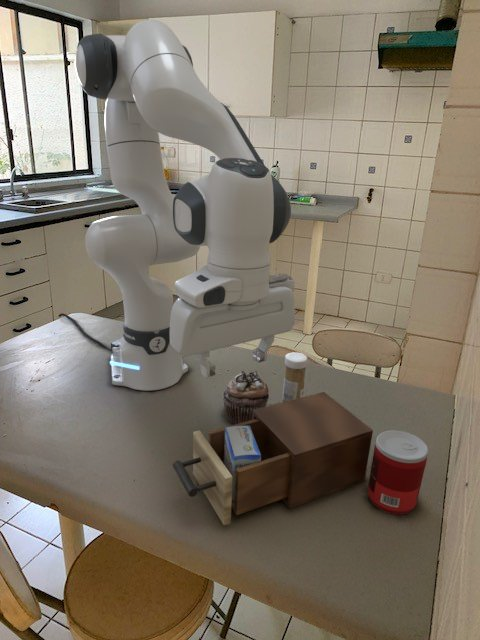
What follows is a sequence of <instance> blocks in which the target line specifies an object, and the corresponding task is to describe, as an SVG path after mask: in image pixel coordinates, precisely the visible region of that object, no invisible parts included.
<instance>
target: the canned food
mask: <svg viewBox="0 0 480 640" xmlns="http://www.w3.org/2000/svg"><path fill="white" fill-rule="evenodd" d="M372 454H373V455H372V461H371V465H370V466H371V467H370V472H369V477H368V483H367V494H368V499H369V500H370V502H371V503H372V505H374V506H375V507H376V508H378V509H379V510H381V511H382V512H385V513H389V514H393V515H404V514H409V513H410V512H411V511H413V509H414V508H415V507H416V506H417V503H418V499H419V495H420V490H421V486H422V483H423V477H424V474H425V469H426V465H427V461H428V455H429V447H428V446H427V443H426V442H425V441H424V440H422V438H421V437H419V436H417V435H415V434H413V433H410V432H407V431H403V430H395V429H394V430H393V429H392V430H385V431H382V432H381V433H379V434H378V435H377V437H376V440H375V444H374V449H373V453H372Z"/></svg>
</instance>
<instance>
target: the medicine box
mask: <svg viewBox="0 0 480 640" xmlns="http://www.w3.org/2000/svg"><path fill="white" fill-rule="evenodd" d="M225 427H226V428H225V443H224V463H223V464H224V465H225V467H226V468H227V469H228V471H229V472H230V474H231V475H232V500H233V501H234V500H235V489H236V469H238V468H241V467H244V466H247V465H250V464H254V463H257V462H260V461H261V454H260V452H259V449H258V446H257V444H256V441H255V438H254V435H253V433H252V430H251V427H250V426H234V427H228V426H225Z"/></svg>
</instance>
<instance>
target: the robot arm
mask: <svg viewBox="0 0 480 640" xmlns="http://www.w3.org/2000/svg"><path fill="white" fill-rule="evenodd" d="M74 56H75V57H74V68H75V74H76V76H77V79H78V81H79V84H80V86H81V89H82V90H83V91H84V92H85V93H86V94H87V95H88V96H90V97H93V98H96V99H100V100H103V101H104V100H106V101H105V108H104V133H105V145H106V152H107V159H108V166H109V173H110V179H111V184H112V185H113V187H114V188H115V190H116V191H117V192H118V193H119V194H121V195H122V196H124V197H126V198H129V199H131V200H132V201H134V202H135V203H136V205H137V206H138V207H139V209H140V212H141V214H129V215H113V216H109V217H105V218H102V219H99V220H96V221H93V222H91V224H90V225H89V227H88V228H87V230H86V233H85V239H84V247H85V251H86V253H87V256H88V257H89V259H90V260H91V261H92V262H93V263H94V264H95V265H96V266H97V267H98V268H100V269H102V270H103V271H105V272H106V273H108V275H110V276H111V277H112V278H113V280H114V281H115V283H116V284H117V286H118V288H119V290H120V294H121V297H122V303H123V304H122V305H123V313H124V322H123V325H122V336H121V337H120V338H119V339H117V340H115V341H112V342H110V348H109V347H107V346H106V345H105V344H104V343H102V342H101V341H100V340H98V339H96V338H94V337H92V336H90V335H89V334H88V333H87V332H86V331H85V330H84V329H83V327H82V326H81V325H80V324H79V322H77V320H76V319H74V318H72V317H71V316H70V315H68V314H66V313H59V314H58V317H59V318H61V317H65V318H67V319H68V320H70V321H72V322H73V323H74V324H75V326H76V327H77V328H78V329H79V331H80V333H82V334H83V335H84V336H85V337H86V338H87V339H89V340H90V341H92V342H94V343H96V344H98V345H99V346H100V347H101V348H103V349H106V350H107V351H109V352H112V353H111V355H110V361H109V365H110V371H111V373H110V374H111V384H112V385H114V386H120V387H127V388H129V389H132V390H136V391H147V392H148V391H158V390H164V389H167V388H169V387H172V386H173V385H175V384H177V383H178V382H179V381H180V380H181V378H182V376H183V375H184V374H185V373H187V372H188V371H189V365H188V364H186V363H185V362H183V361H184V360H183V357H184V358H188V357H192V356H194V357H195V358H196V360H197V361H198V362H199V364H200V374H201V375H202V376H203V377H204V378H206V379H207V378H210V377H213V376H215V375H216V364H214V363H212V361H210V360H208V359H207V358H210V352H212V351H216V350H220V349H223V348H228V347H232V346H236V345H241V344H244V343H249V342H252V341H256V340H260V341H259V343H258V346H257V347H256V348H253V349H252V359H253V361H254V362H256V363H257V364H259V363H263V362H266V361H267V359H268V352H269V350H270V348H271V347H272V345H273V344H274V341H275V336H277V335H281V334H285V333H289V332H291V330H292V329H293V327H294V326H295V323H296V303H295V302H296V301H295V294H294V292H295V281H294V279H293V278H292V276H290V275H288V273H279V274H270V273H271V263H272V262H271V260H272V259H271V255H270V244H273V243H274V242H276V241H277V240H278V239H279V238H280V237H281V236H282V235H283V233H284V232H285V230H286V228H287V227H288V225H289V223H290V220H291V215H292V205H291V201H290V198H289V195H288V193H287V191H286V190H285V188H284V187H283V185H282V184H281V183H280V181H278V179H277V178H276V177H275V176H274V175H273V174H272V173H271V171H270V170H271V169H269V168H268V167H267V166H266V165H265V163H264V162H263V160H262V158H261V157H260V156H259V153H258V152H257V150H256V149H255V147H254V145H253V144H252V142H251V141H250V139H249V137H248V136H247V134H246V132H245V130H244V129H243V128H242V126H241V124H240V123H239V121H238V120H237V117H235V115H234V114H233V112H232V111H231V110H230V108H228V107H227V106H226V105H225V104H224V103H223V102H221V101H220V100H219V99H218V98H217V97H216V96H214V94H212V92H211V91H210V90H209V89H208V88H207V87H206V86H205V84H204V83H203V82H202V81H201V79H200V78H199V76H198V75H197V72H196V70H195V68H194V64H193V59H192V55H191V54H190V51H189V49H188V47H186V46H185V45H184V44H182V42H181V41H180V39H179V38H178V36H177V34H175V33H174V31H173V30H172V28H170V26H169V25H168V24H166V23H164V22H162V21H160V20H157V19H143V20H141V21H138V22H137V23H135V24H134V25H133V26H132V27H131V28H130V29H129V30H128V31H127V33H126V34H125V35H124V34H123V35H122V34H121V35H120V34H109V35H107V34H106V35H104V34H103V33H93V34H92V33H91V34H87V35H85V36H83V37H82V38H81V39H80V40H79V41H78V43H77V46H76V52H75V55H74ZM160 134H161V135H163V136H166V137H168V138H171V139H176V140H179V141H184V142H187V143H190V144H194V145H197V146H199V147H202V148H204V149H206V150H208V151H210V152H212V153H213V154H214V155H215V156H216V157H217V158H218V159H219V160H216V161H215V162H214V163H213V164H212V166H211V169H210V172H208V173H207V174H206V175H204V176H202V177H200V178H198V179H195V180H191V181H186V182H185V183H184V184H183V185H182V186H181V187H180V188H179V189H178V191H177V193H176V194H175V196H173V194H172V192H171V190H170V188H169V184H168V181H167V178H166V173H165V169H164V162H163V156H162V148H161V140H160ZM201 247H207V248H208V256H207V259H206V265H204V266H202V267H201V268H199V269H197V270H195V271H194V272H192V273H190V274H187V275H186V276H184V277H182V278H179V279H177V280H176V281H175V282H174V284H173V285H174V286H173V288H174V294H175V295H177V297H179V298H177V299H176V300H175V301H174V294H173V291H172V289H171V288H170V286H169V285H168V284H166V283H165V282H164V281H161V280H160V279H157V278H154V277H152V276H150V270H149V269H150V268H149V267H151V266H155V265H162V264H164V265H165V264H170V263H171V264H173V263H178V262H182V261H184V260H187V259H189V258H193V257H195V256H196V255H197V254H198V252H199V251H200V249H201Z"/></svg>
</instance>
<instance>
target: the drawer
mask: <svg viewBox="0 0 480 640" xmlns="http://www.w3.org/2000/svg"><path fill="white" fill-rule="evenodd" d="M234 426H250V427H251V430H252V433H253V435H254V438H255V441H256V444H257V446H258V449H259V452H260V454H261V461H260V462H257V463H254V464H250V465H247V466H244V467H241V468H238V469H236V489H235V500H234V501H233V500H232V475H231V474H230V472H229V471H228V469H227V468H226V467H225V465H224V464H223V463H224V443H225V428H226V427H234ZM192 445H193V446H192V459H189V460H186V461H181V460H180V459H179V460H175V461H174V462H173V463H172V468H173V470H174V472H175V473H176V475H177V477H178V478H179V481H180V482H181V484H182V486H183V488H184V490H185V492H186V493H187V495H188V496H189V497H190V498H194V497H196V496H197V495H198V493H199V492H201V491H202V492H203V494H204V495H205V497H206V498H207V499H208V502H209V503H210V505H211V506H212V508H213V510H214V512H215V513H216V515H217V517H218V518H219V520H220V522H221V523H222V525H223V526H226V525H230V524H231V522H232V510H233V512H234V514H235V515H236V516H240V515H242V514H245V513H247V512H250V511H252V510H256V509H258V508H261V507H263V506H266V505H267V506H268V505H269V504H272V503H275V502H278V501H281V500H282V499H283V498H286V497H288V490H289V480H290V469H291V459H292V456H291V455H290V454H289V453H288V451H287V450H286V449H285V448H284V447H283V446H282V445H281V444H280V443H279V442H278V441H277V440H276V439H275V438H274V436H273V435H272V434H271V433H270V432H269V431H268V430H267V429H266V428H265V427H264V426H263V425H262V424H261V423H260V421H259V420H258V419H254V420H250V421H247V422H243V423H239V424H232V425H229V426H224V427H220V428H216V429H213V430H209V431H208V440H207V438H206V437H205V435H204V434H203V433H202V431H201V430H200V429H199V430H194V431H193V432H192ZM190 466H192V470H193V471H192V474H193V477H194V478H195V480H196V481H197V483H198V485H196V484H195V483H194V480H193V479H192V477H191V476H190V474H189V473H188V472H189V471H187V469H186V467H190Z"/></svg>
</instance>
